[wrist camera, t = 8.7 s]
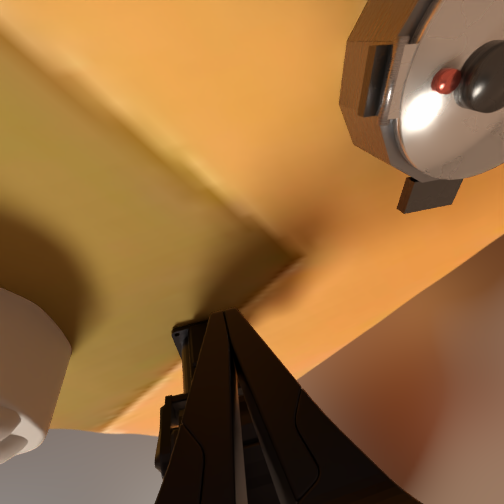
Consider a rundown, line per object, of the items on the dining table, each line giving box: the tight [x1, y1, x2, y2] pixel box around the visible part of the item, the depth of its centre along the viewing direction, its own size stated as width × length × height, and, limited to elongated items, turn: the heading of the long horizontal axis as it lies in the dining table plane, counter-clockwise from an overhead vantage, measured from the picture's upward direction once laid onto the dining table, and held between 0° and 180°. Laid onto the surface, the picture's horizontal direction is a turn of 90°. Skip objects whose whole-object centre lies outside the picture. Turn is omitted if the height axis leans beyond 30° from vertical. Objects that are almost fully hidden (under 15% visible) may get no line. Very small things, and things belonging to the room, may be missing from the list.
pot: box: [339, 0, 463, 214], centre depth 16 cm, size 17×13×4 cm
